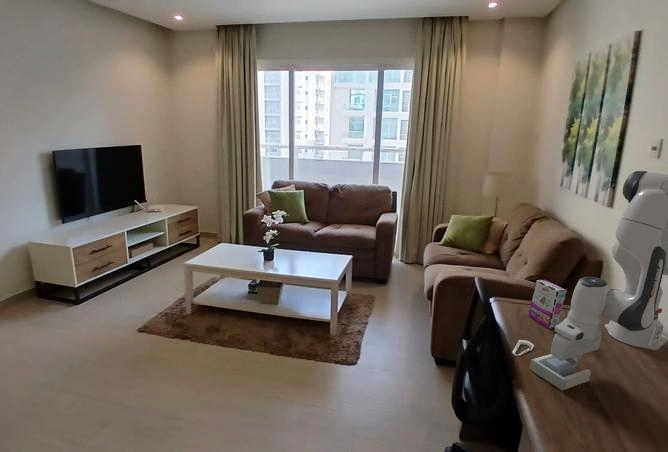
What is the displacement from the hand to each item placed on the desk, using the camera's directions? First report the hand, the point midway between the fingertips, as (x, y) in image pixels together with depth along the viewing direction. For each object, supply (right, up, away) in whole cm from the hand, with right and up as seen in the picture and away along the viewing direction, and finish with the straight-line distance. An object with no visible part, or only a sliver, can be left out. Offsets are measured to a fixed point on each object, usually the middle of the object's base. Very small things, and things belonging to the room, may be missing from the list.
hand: (571, 365), depth 130 cm
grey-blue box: (-6, -2, -2) cm, 7 cm away
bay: (-5, -2, -2) cm, 6 cm away
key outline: (-10, +1, +12) cm, 16 cm away
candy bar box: (+8, +6, +34) cm, 36 cm away
